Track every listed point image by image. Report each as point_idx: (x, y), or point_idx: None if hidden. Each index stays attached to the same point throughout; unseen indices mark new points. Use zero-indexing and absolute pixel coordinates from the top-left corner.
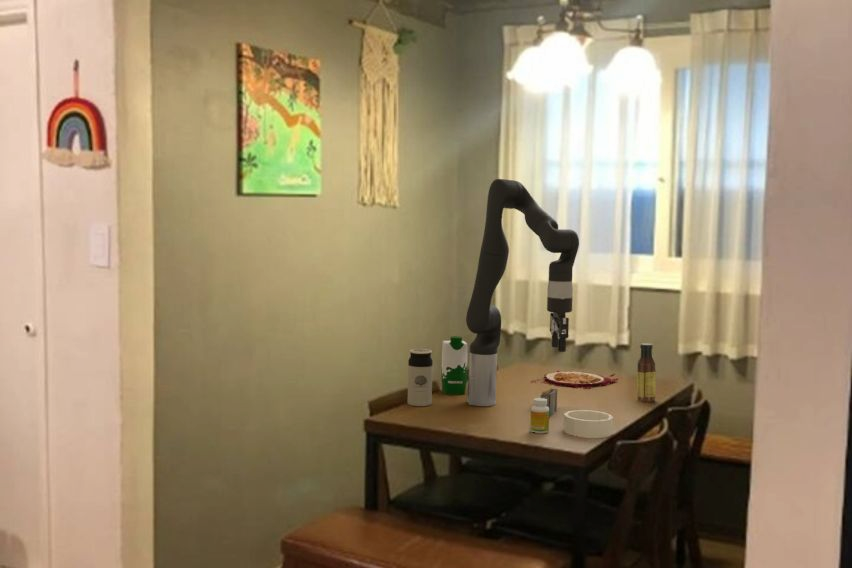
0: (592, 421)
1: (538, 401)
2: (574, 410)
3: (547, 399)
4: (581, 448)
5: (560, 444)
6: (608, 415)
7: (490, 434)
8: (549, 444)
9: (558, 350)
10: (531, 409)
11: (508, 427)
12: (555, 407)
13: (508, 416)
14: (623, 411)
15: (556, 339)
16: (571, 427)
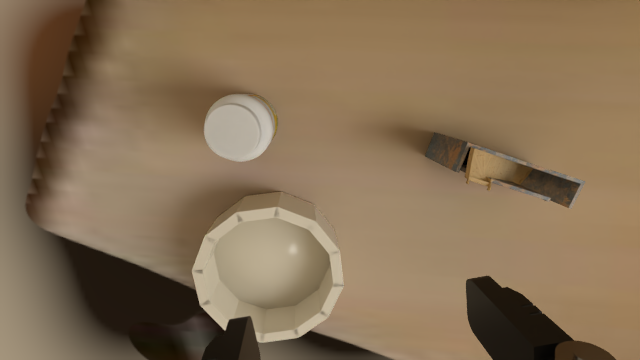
0: (195, 283)
1: (205, 122)
2: (332, 242)
3: (450, 164)
4: (89, 226)
5: (115, 174)
6: (281, 332)
7: None
8: (105, 143)
9: (229, 321)
10: (228, 95)
11: (285, 23)
12: (526, 186)
13: (437, 28)
14: None
15: (505, 353)
16: (222, 217)
